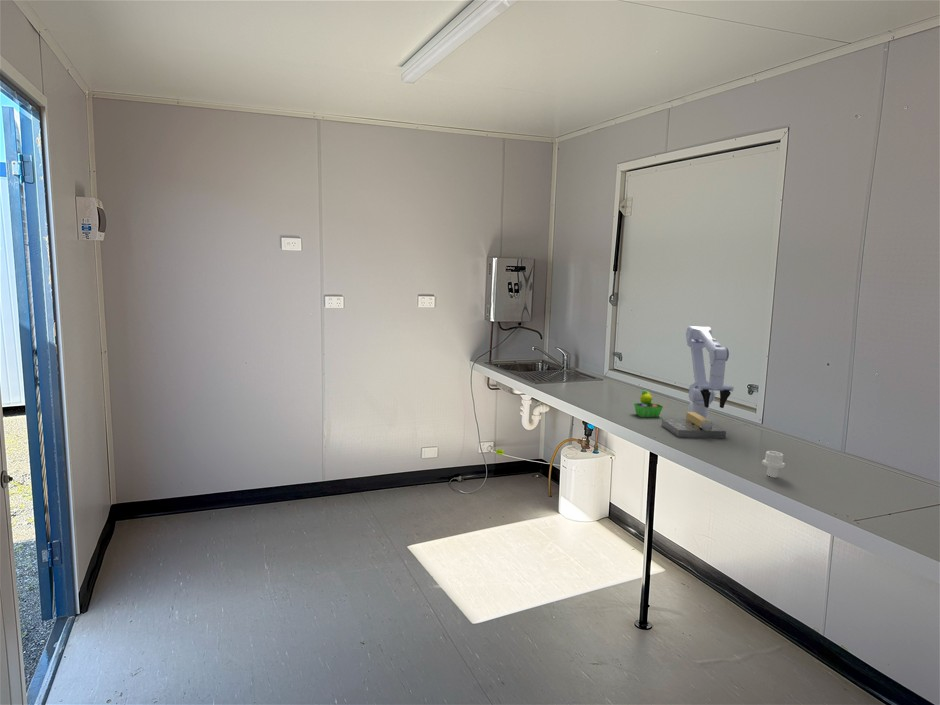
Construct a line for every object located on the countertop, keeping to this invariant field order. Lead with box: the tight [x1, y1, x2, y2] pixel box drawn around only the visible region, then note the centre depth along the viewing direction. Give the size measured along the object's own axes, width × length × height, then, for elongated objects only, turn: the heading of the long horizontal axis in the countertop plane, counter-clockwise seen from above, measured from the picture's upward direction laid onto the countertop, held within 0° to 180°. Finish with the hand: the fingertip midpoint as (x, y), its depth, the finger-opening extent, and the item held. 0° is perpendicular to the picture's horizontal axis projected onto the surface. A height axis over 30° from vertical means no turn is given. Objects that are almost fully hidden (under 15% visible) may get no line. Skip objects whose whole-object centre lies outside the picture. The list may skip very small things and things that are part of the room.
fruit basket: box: [633, 389, 664, 418], centre depth 291 cm, size 11×9×11 cm
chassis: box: [661, 418, 727, 439], centre depth 266 cm, size 18×20×4 cm
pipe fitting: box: [761, 450, 786, 478], centre depth 213 cm, size 6×7×8 cm
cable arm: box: [685, 411, 713, 430], centre depth 265 cm, size 18×4×3 cm, turn 5°
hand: (713, 407), depth 267 cm, fingers open, 6 cm apart
